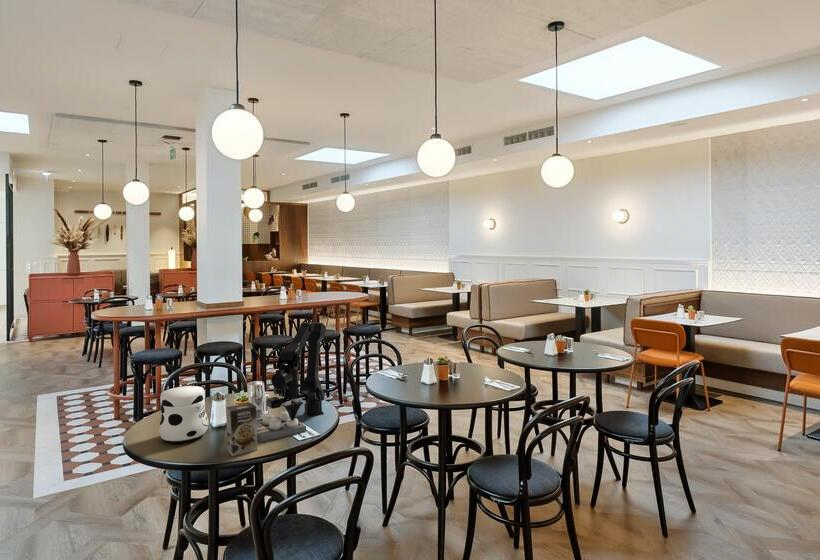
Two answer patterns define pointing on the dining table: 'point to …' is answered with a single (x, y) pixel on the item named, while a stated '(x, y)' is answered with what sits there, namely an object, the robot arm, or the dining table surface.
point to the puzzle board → (277, 431)
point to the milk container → (183, 414)
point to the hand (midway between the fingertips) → (292, 420)
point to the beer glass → (257, 397)
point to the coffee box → (241, 429)
